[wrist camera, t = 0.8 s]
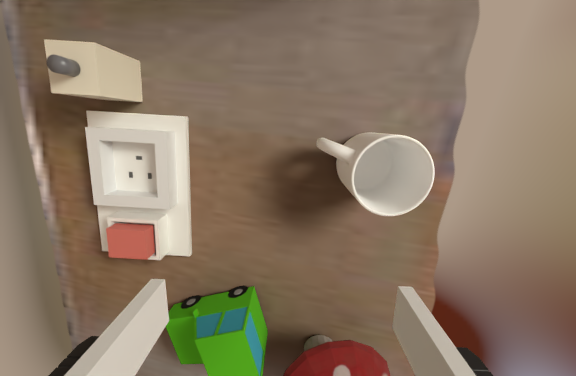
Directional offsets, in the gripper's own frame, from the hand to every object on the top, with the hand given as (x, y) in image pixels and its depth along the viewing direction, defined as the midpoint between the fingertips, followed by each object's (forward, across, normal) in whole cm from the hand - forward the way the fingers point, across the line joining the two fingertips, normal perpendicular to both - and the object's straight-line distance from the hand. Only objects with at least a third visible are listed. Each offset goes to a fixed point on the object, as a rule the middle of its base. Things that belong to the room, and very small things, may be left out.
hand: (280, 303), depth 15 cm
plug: (+24, -22, +15) cm, 35 cm away
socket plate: (+23, -20, +1) cm, 31 cm away
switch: (+20, -21, -6) cm, 30 cm away
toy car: (+23, -10, -20) cm, 32 cm away
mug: (+24, +9, +6) cm, 26 cm away
